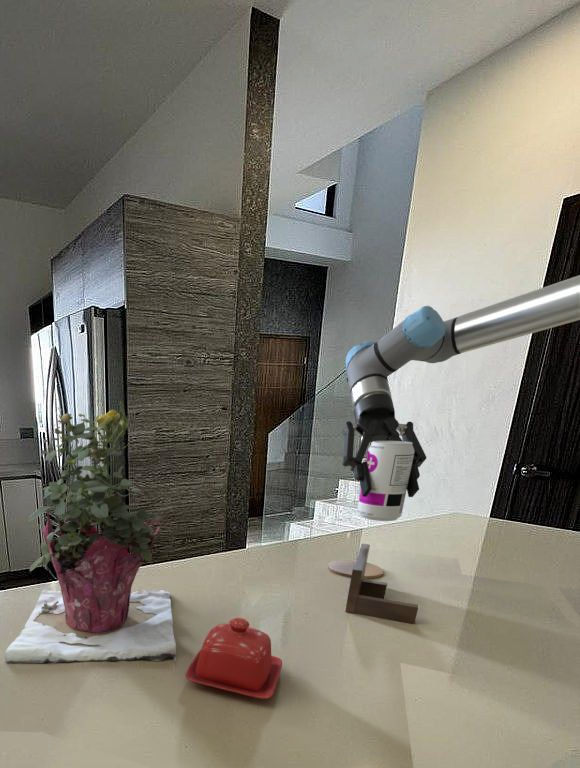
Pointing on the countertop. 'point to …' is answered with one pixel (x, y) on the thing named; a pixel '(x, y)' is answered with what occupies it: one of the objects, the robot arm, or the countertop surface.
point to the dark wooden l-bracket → (374, 595)
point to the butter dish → (237, 661)
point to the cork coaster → (347, 566)
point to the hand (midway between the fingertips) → (390, 492)
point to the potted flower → (95, 562)
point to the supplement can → (386, 480)
